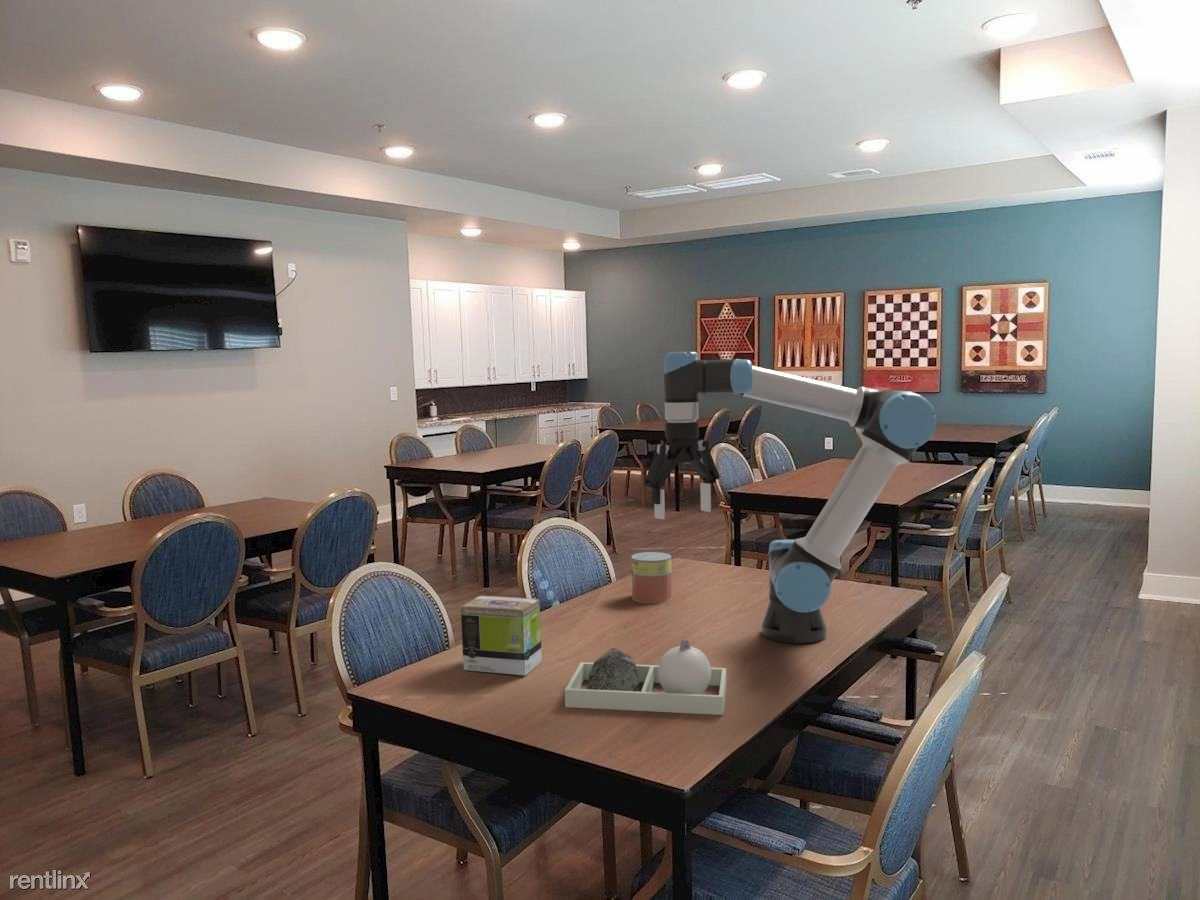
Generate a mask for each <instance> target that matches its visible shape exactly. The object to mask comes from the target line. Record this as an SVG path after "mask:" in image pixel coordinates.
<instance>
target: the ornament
mask: <svg viewBox="0 0 1200 900" xmlns="http://www.w3.org/2000/svg"><path fill="white" fill-rule="evenodd" d="M658 665H659V670H658V675H659V680H660V683H659V684H660V686H661V687H662V689H663V690H664V691H665V693H681V694H702V695H704V693H705V692H706V691H707V690H708V687H709V686H710V685H709V683H710V680H711V668H712V667H711V663H710V661H709V659H708V657H707V656H706V654H705V653H704V652H703V651H701V650H700V649H698V648H696V647H694V646H690V643H689V640H688V639H686V638H683V639H681V641H680V645H678V646H675V647H672V648H670V649H668V650H667V651H666V652H665V653H664V655H663V656H662V658H660V661H659V664H658Z"/></svg>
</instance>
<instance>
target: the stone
mask: <svg viewBox="0 0 1200 900" xmlns="http://www.w3.org/2000/svg"><path fill="white" fill-rule="evenodd" d="M593 663H594V664H593V666H592V669H591V671H590V674H589V678H588V680H587V685H586V687H585V688H584V689H593V690H615V691H637V688H638V687H639V684H640V682H639V675H638V672H637V671H638V669H637V667H636V665H637V664H636V663H635V661H634V658H633V657H632V656H630V655H629V654H627V653H625V652H624V651H621V650H620V649H619V648H616V647H611V648H610V649H608V650H607V651H606V652H604V653H603V654H602V655H600V657H598V658H597V659H596V660H595V661H594V662H593Z"/></svg>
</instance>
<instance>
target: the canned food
mask: <svg viewBox="0 0 1200 900" xmlns="http://www.w3.org/2000/svg"><path fill="white" fill-rule="evenodd" d="M630 557H631V586H632V589H631V591H632V596H631V599H632V600H633V601H634V602H637V603H642V604H661V603H667V602H670V601H671V600H672V599H673V593H672V592H673V591H672V588H673V587H672V583H673V582H672V580H673V579H672V554H670V553H666V552H663V551H662V552H661V551H644V552H643V551H642V552H637V553H634V554H632V555H631V556H630Z"/></svg>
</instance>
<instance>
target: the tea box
mask: <svg viewBox="0 0 1200 900" xmlns="http://www.w3.org/2000/svg"><path fill="white" fill-rule="evenodd" d="M540 603H541V602H540V598H535V597H534V598H528V597H513V596H512V597H510V596H492V595H479V596H477V597H476V598H473V599H472V600H469V601H468V602H466V603H464V604H463V605H461V606H460V622H461V623H460V624H461V625H460V626H461V644H462V661H463V662H462V663H463V664H462V665H463V670H464V671H470V672H471V671H472V672H482V673H491V674H492V673H493V674H504V675H512V676H513V675H514V676H515V675H516V676H525V677H526V675H528V674H529V673H531V672H532V671H533V670H534V669H535V668H537V667H538V666H539V665H540V664H541V663H542V661H543V660H542V659H543V657H542V655H543V654H542V653H543V652H542V628H541V606H540Z"/></svg>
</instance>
